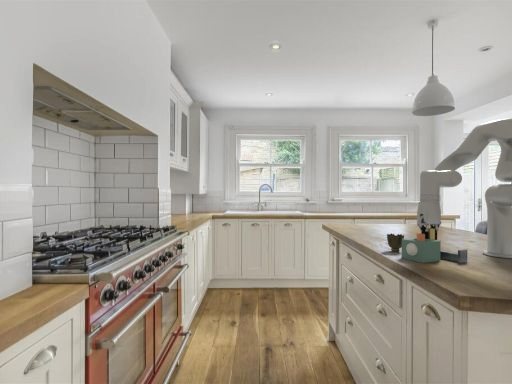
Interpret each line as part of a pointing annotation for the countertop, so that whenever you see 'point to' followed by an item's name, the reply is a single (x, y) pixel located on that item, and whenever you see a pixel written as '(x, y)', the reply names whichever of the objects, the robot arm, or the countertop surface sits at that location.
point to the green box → (421, 250)
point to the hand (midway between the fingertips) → (429, 239)
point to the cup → (395, 241)
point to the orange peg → (421, 237)
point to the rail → (454, 256)
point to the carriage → (431, 233)
